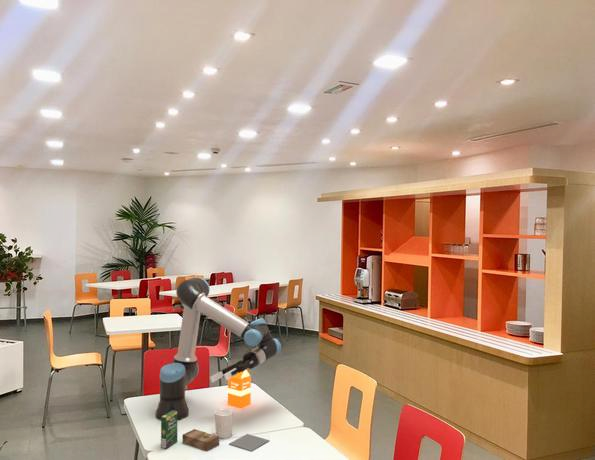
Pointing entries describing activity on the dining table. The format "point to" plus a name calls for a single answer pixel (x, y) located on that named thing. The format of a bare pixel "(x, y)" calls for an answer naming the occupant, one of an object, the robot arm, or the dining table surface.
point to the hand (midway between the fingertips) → (217, 378)
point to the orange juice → (239, 390)
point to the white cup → (223, 423)
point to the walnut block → (201, 440)
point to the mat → (249, 442)
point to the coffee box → (169, 429)
